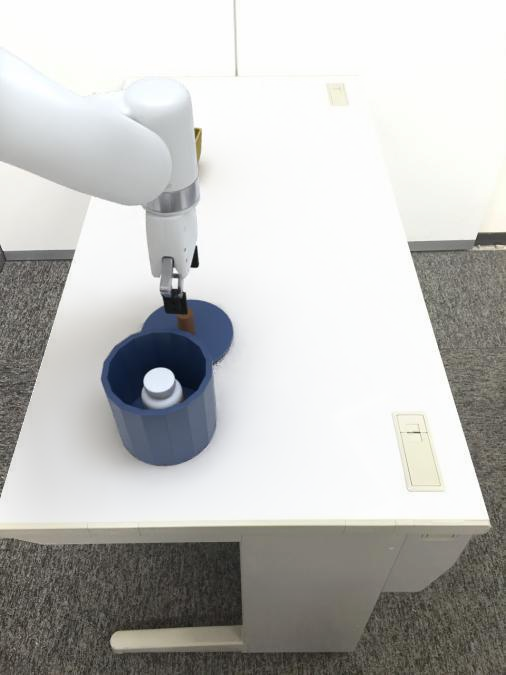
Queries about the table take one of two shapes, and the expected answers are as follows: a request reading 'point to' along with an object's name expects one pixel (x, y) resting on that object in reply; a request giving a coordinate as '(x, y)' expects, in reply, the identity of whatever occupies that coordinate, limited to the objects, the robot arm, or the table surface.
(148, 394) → the supplement bottle
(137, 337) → the tin
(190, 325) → the tin lid
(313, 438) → the table surface
